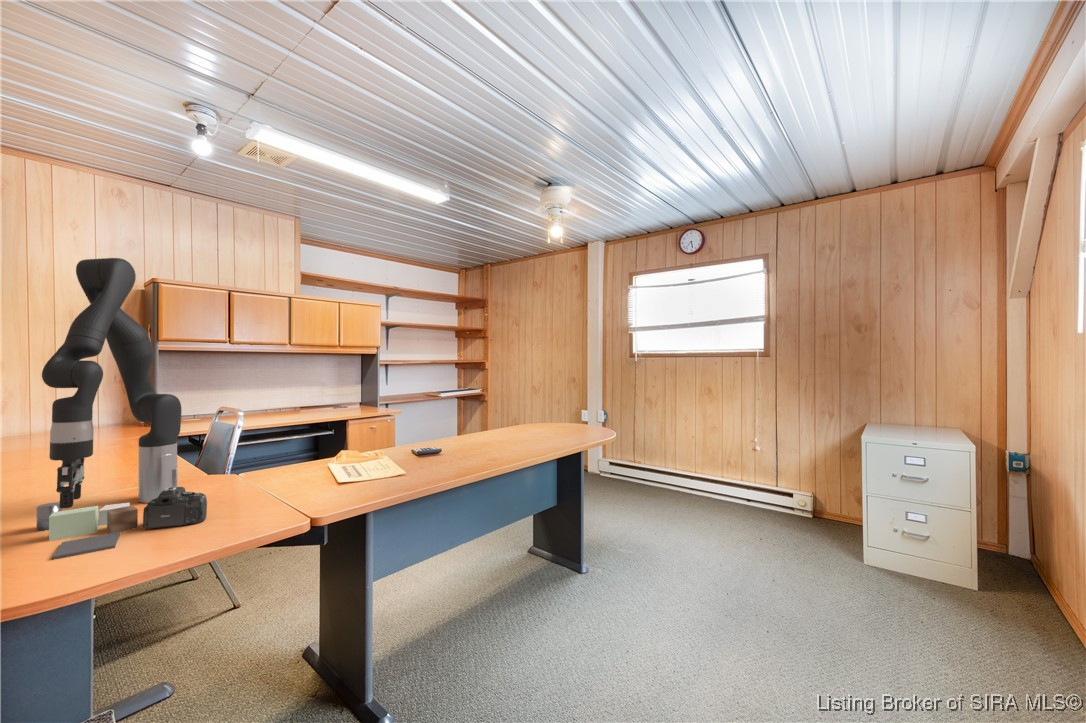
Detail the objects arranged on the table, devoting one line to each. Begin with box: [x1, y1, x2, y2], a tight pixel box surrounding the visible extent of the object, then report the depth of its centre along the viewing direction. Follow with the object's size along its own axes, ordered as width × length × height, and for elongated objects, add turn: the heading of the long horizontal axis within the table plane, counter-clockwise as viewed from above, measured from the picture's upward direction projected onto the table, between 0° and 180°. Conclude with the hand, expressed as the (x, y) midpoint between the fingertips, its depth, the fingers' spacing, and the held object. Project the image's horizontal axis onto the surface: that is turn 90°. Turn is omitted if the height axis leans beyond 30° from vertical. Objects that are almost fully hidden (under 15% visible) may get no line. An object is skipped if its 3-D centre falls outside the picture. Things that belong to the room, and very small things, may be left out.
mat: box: [51, 532, 121, 560], centre depth 105 cm, size 10×10×1 cm
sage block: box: [48, 505, 99, 542], centre depth 111 cm, size 8×4×6 cm, turn 129°
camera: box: [142, 486, 208, 530], centre depth 119 cm, size 13×10×10 cm
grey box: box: [98, 502, 131, 526], centre depth 121 cm, size 5×5×4 cm
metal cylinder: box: [36, 501, 63, 532], centre depth 115 cm, size 4×4×6 cm
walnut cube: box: [106, 504, 139, 534], centre depth 115 cm, size 5×5×5 cm
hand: (70, 503), depth 111 cm, fingers open, 8 cm apart
